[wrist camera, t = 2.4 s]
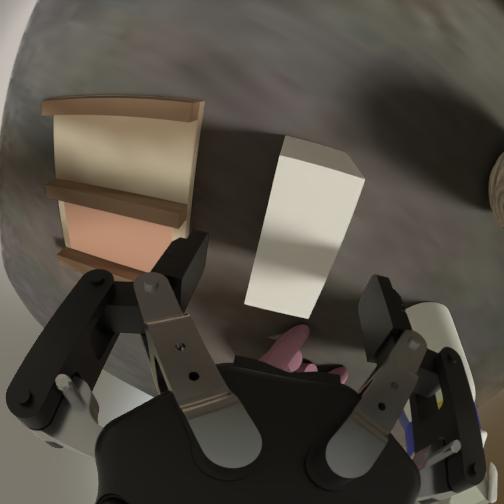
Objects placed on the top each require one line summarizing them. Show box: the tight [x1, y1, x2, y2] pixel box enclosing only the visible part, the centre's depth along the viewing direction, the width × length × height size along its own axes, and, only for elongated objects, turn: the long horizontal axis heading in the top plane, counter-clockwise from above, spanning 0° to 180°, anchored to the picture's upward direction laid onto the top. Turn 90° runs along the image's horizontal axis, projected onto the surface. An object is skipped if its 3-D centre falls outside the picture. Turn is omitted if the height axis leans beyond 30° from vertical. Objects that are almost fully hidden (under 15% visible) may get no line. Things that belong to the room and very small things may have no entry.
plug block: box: [244, 135, 365, 319], centre depth 17 cm, size 9×4×6 cm, turn 169°
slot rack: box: [41, 95, 205, 282], centre depth 20 cm, size 16×13×2 cm
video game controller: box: [259, 324, 348, 384], centre depth 26 cm, size 10×5×7 cm, turn 39°
